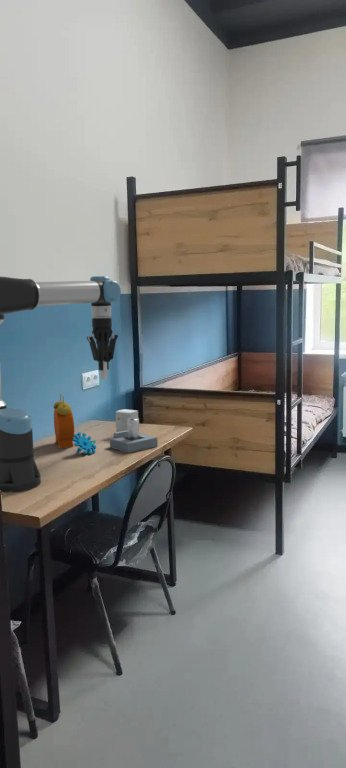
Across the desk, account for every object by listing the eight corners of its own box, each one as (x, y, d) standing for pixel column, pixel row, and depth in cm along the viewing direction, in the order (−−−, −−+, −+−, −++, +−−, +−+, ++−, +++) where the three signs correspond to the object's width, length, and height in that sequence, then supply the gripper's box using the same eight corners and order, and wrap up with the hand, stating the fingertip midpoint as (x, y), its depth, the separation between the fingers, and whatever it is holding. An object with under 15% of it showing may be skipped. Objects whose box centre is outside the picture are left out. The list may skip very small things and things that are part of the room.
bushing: (132, 448, 225) (131, 420, 223) (125, 446, 228) (124, 418, 226) (142, 446, 227) (141, 418, 226) (135, 444, 231) (134, 417, 229)
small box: (139, 435, 246) (138, 410, 245) (131, 437, 242) (130, 412, 240) (124, 432, 251) (123, 408, 249) (116, 435, 246) (115, 411, 244)
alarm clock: (75, 447, 228) (73, 396, 225) (59, 449, 226) (57, 398, 223) (69, 439, 240) (67, 391, 237) (54, 441, 238) (51, 393, 235)
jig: (127, 453, 219) (127, 439, 218) (110, 446, 228) (109, 433, 227) (157, 446, 227) (157, 432, 227) (139, 440, 237) (138, 427, 236)
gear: (82, 453, 213) (70, 432, 217) (73, 463, 216) (61, 441, 220) (103, 451, 222) (91, 430, 226) (95, 460, 224) (83, 439, 228)
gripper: (92, 318, 217) (94, 381, 221) (121, 316, 225) (123, 377, 229) (81, 317, 223) (84, 379, 226) (110, 316, 231) (112, 375, 234)
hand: (104, 378), depth 228 cm, fingers closed
